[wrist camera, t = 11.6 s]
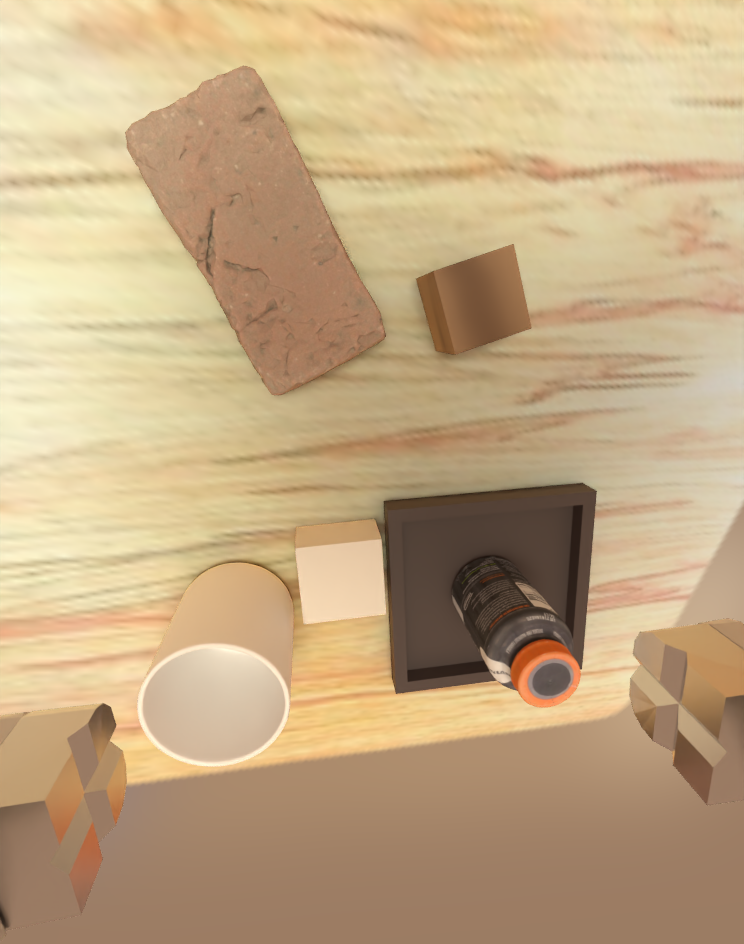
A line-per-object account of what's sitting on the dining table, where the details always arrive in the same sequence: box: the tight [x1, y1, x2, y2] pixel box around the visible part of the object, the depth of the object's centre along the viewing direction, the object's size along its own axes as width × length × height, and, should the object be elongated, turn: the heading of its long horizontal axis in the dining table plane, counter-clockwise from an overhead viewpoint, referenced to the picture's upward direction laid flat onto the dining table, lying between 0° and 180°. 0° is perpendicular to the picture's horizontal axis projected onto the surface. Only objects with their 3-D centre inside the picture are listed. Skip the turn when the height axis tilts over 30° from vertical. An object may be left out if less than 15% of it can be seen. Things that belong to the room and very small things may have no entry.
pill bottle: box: [452, 557, 581, 707], centre depth 35 cm, size 6×6×11 cm
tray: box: [384, 483, 597, 694], centre depth 40 cm, size 16×16×2 cm
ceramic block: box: [295, 519, 386, 624], centre depth 37 cm, size 6×6×4 cm
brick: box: [125, 66, 386, 395], centre depth 30 cm, size 17×8×5 cm, turn 28°
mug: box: [137, 563, 294, 766], centre depth 34 cm, size 9×12×11 cm
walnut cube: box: [416, 244, 531, 355], centre depth 32 cm, size 5×5×5 cm
